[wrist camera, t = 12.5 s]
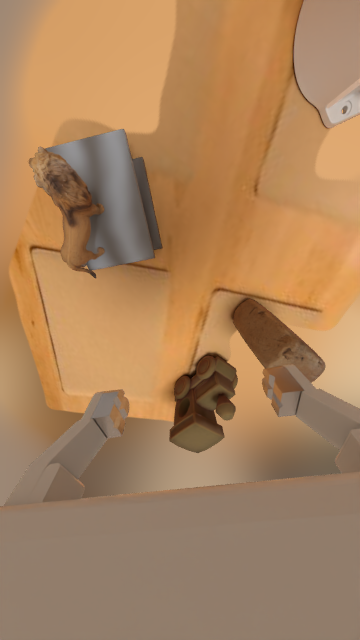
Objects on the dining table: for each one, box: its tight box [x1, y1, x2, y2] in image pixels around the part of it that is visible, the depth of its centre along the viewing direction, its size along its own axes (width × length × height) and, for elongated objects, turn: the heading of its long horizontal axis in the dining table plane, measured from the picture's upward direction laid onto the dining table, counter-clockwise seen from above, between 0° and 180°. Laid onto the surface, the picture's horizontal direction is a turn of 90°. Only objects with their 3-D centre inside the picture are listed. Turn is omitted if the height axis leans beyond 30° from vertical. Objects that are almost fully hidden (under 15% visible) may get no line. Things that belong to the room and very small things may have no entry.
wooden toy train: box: [170, 356, 238, 453], centre depth 45 cm, size 20×11×17 cm, turn 141°
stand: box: [46, 129, 162, 270], centre depth 28 cm, size 14×16×8 cm
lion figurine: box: [29, 147, 105, 278], centre depth 22 cm, size 15×5×9 cm, turn 174°
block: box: [233, 299, 325, 382], centre depth 33 cm, size 11×8×20 cm
